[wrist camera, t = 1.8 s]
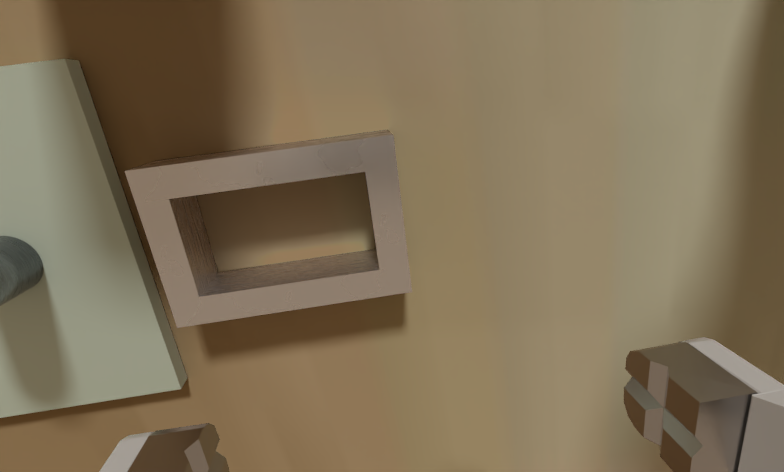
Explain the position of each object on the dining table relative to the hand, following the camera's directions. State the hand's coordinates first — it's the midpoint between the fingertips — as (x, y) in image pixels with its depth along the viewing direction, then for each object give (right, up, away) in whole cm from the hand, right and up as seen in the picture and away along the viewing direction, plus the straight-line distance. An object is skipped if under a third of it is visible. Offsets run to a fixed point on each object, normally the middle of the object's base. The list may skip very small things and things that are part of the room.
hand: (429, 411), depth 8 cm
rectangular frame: (-6, +4, +15) cm, 17 cm away
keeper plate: (-20, +2, +14) cm, 25 cm away
